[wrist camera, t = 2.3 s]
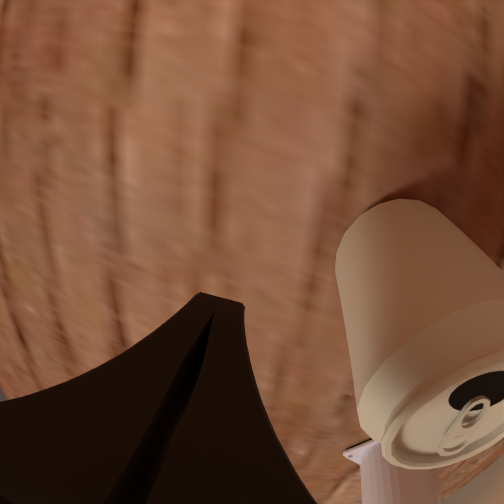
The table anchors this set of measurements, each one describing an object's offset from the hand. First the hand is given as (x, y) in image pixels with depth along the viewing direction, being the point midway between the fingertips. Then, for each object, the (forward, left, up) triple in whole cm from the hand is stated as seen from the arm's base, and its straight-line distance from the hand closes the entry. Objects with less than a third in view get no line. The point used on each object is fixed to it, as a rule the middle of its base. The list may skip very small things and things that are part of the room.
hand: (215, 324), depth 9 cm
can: (-7, -5, -10) cm, 13 cm away
